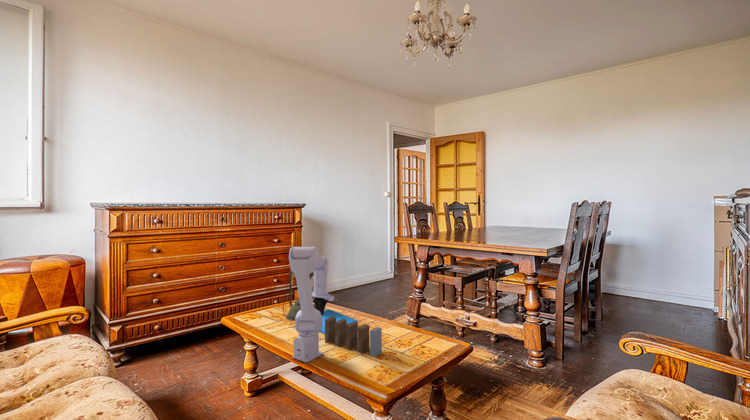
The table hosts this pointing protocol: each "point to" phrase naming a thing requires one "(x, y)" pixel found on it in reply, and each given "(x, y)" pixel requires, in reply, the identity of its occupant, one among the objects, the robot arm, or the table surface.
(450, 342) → the table surface
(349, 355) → the table surface
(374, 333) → the domino
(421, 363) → the table surface
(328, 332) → the domino
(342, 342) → the domino
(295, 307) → the lantern
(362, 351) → the domino
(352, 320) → the book
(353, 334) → the domino
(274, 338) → the table surface
